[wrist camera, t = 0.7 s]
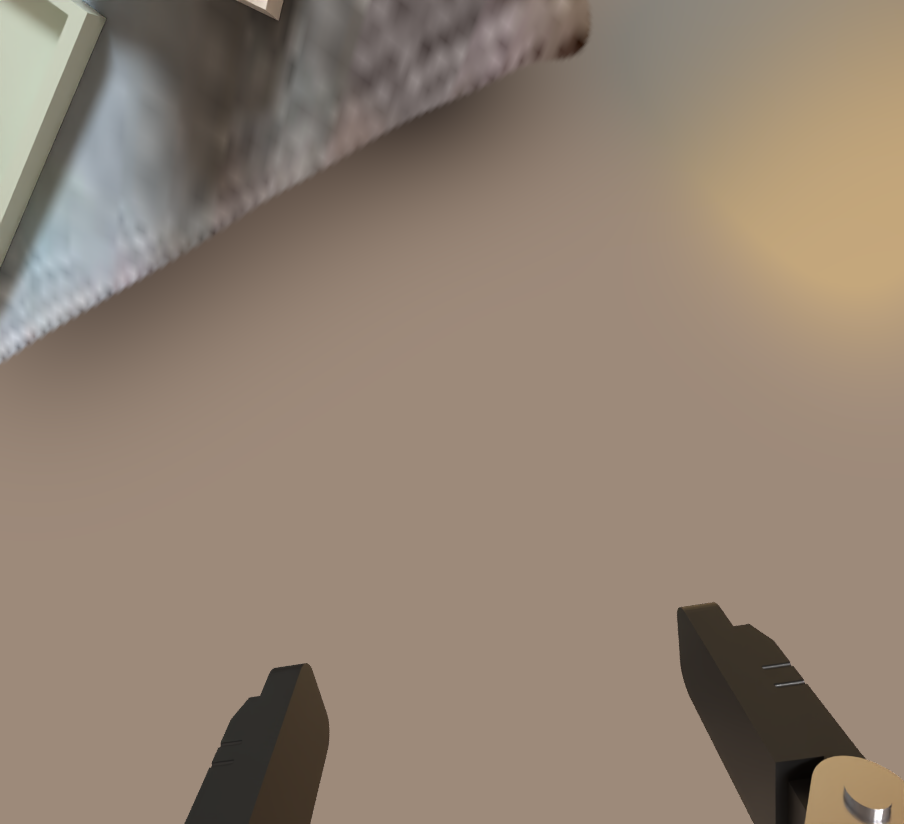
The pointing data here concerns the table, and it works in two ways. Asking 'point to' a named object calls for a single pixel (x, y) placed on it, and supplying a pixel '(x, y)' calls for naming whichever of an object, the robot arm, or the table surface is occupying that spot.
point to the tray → (36, 91)
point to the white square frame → (265, 6)
